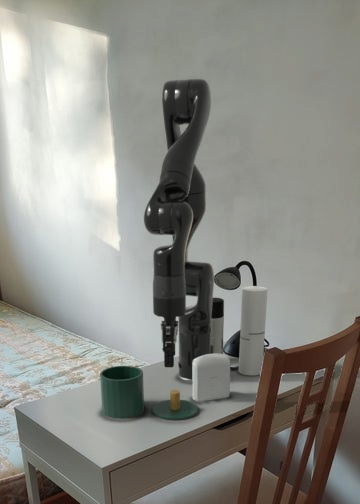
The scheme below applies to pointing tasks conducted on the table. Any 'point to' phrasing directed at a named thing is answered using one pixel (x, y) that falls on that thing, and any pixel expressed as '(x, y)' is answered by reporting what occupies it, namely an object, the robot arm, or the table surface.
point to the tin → (122, 392)
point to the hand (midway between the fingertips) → (170, 361)
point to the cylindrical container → (252, 329)
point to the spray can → (217, 325)
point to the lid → (175, 408)
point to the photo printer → (211, 377)
